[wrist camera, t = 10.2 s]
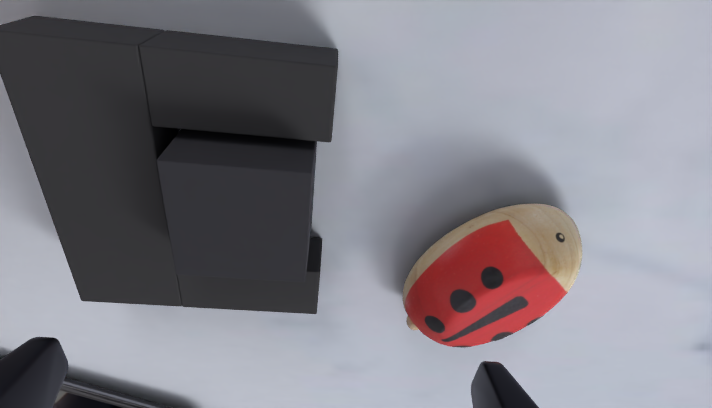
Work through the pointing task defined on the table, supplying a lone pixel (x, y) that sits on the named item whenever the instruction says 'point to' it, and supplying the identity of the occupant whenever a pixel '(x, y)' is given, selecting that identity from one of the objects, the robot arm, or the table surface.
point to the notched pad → (153, 143)
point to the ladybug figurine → (493, 275)
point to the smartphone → (96, 397)
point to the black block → (238, 204)
